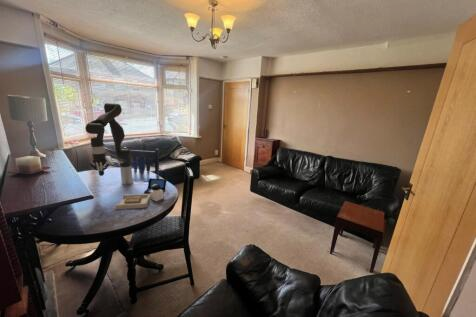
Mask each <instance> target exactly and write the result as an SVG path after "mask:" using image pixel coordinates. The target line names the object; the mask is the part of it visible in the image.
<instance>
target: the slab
mask: <svg viewBox="0 0 476 317" xmlns="http://www.w3.org/2000/svg"><path fill="white" fill-rule="evenodd" d="M141 200H142V199H141V196H133V197H127V198H126V200H125V201H124V204H136V203H140V202H141Z"/></svg>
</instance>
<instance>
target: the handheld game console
mask: <svg viewBox="0 0 476 317" xmlns="http://www.w3.org/2000/svg"><path fill="white" fill-rule="evenodd" d="M155 184H159V185H160V190H163V193H164V192H165V191H166V186H167V185H166V184H167V179H166V178H149V179H148V184H147V189H146V190H144V192H143V194H150V191H152V186H153V185H155Z"/></svg>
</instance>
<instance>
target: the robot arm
mask: <svg viewBox="0 0 476 317" xmlns="http://www.w3.org/2000/svg"><path fill="white" fill-rule="evenodd" d="M103 110H104V113H102V114H100V115H99V116H98V117H97V118H96V119H93V120H91V121H89V122H88V123H87V124H86V125H85V127H84V128H85V131H86V133H87V134H89V135H90V134H91V135H96V136H94V137H91V138H90V146H91V154H92V156H91V157H92V162H91V163H89V166H90V167H91V168H93V170H94V171H98V175H99V176H100V177H101V176H102V177H103V176H104V175H105V170H107V168H109V166H110V165H111V162H108V160H107V158H106V157H107V156H106V149H105V146H104V135H105V132H106V129H105V128H106V126H107V125H109V127H110V132H111V135H112V139H113V143H114V146H115V148H114V149H115V154H116V157H117V159H119V160H125V161H122V162H119V168H120V169H119V170H120V179H121V185H123V186H124V185H125V186H128V185H129V186H130V185H132V184H133V183H134V181H133V179H134V178H133V170H132V168H133V167H132V151H131V149H129V148H122V147H121V146H122V145H121V144H122V143H123V141H124V139H125V137H126V136H125V130H124V128H123V127H122V125H121V124H120V123H119V122H118V121H117V120H116V119H115V118H117V117H118V116H120V115H121V114H122V113H123V112H122V110H123V109H122V105H121V104H119V103H115V102H114V103H113V102H106V103H104V105H103Z"/></svg>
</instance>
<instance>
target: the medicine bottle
mask: <svg viewBox="0 0 476 317" xmlns="http://www.w3.org/2000/svg"><path fill="white" fill-rule="evenodd" d="M162 199H164V192H163V190H160V185H159V184H155V185H153V186H152V191H150V200H152V201H155V202H158V201H161V200H162Z"/></svg>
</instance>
